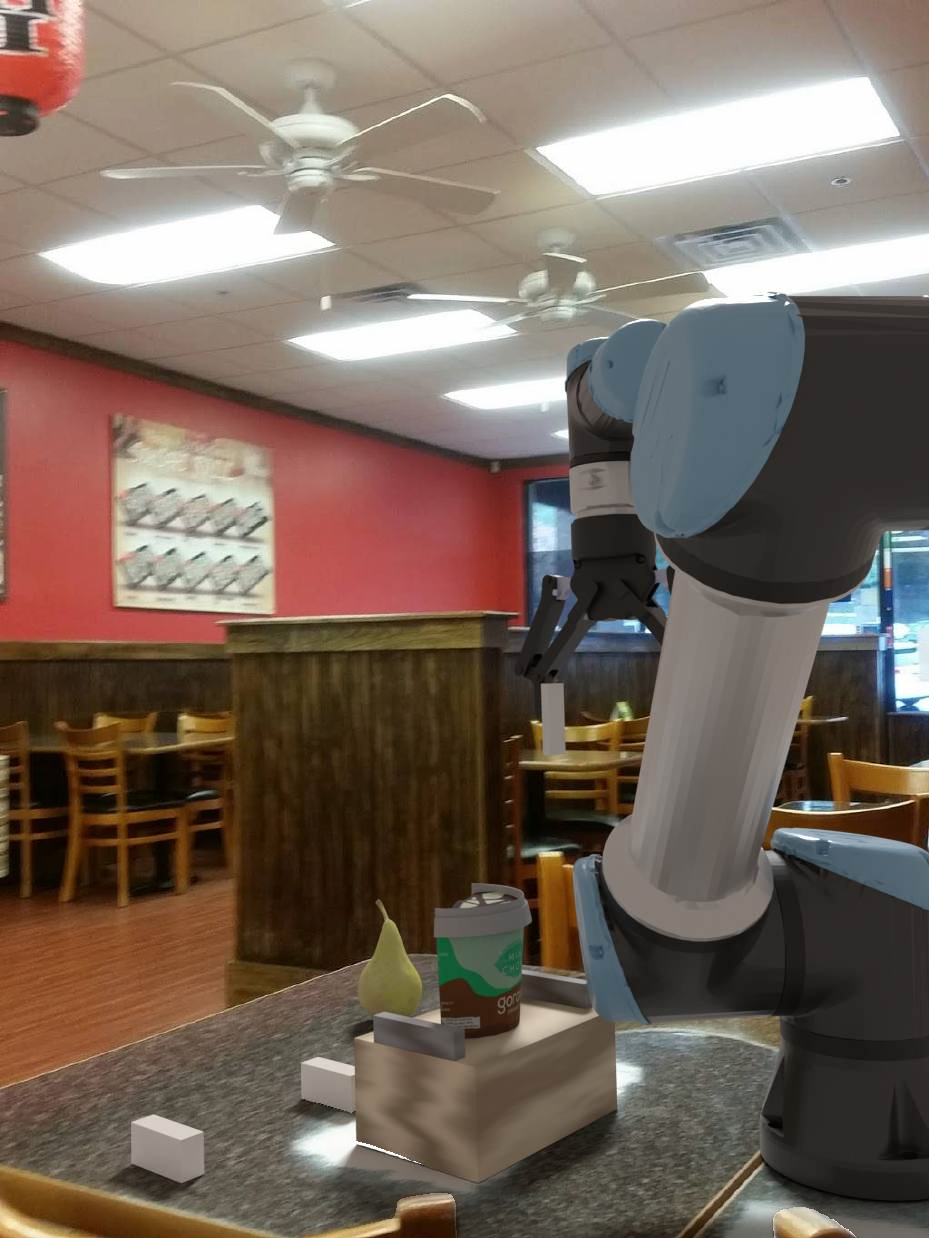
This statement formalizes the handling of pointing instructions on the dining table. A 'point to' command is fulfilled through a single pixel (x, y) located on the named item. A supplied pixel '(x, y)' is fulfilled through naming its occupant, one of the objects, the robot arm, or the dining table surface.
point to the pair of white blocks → (183, 1147)
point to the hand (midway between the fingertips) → (620, 756)
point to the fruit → (389, 976)
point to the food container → (482, 960)
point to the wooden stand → (486, 1081)
